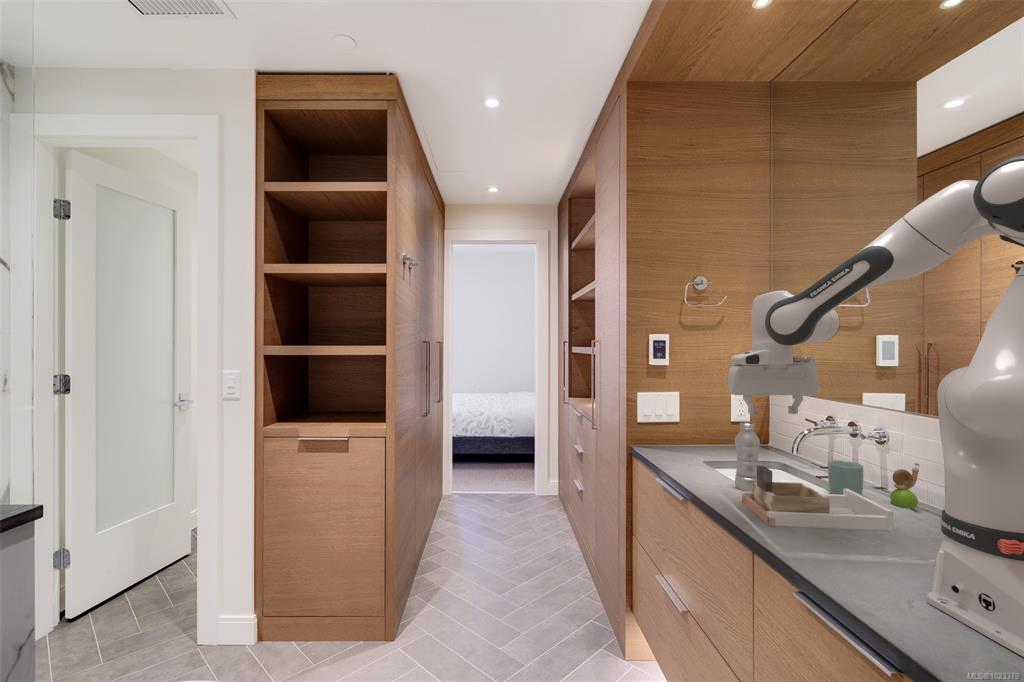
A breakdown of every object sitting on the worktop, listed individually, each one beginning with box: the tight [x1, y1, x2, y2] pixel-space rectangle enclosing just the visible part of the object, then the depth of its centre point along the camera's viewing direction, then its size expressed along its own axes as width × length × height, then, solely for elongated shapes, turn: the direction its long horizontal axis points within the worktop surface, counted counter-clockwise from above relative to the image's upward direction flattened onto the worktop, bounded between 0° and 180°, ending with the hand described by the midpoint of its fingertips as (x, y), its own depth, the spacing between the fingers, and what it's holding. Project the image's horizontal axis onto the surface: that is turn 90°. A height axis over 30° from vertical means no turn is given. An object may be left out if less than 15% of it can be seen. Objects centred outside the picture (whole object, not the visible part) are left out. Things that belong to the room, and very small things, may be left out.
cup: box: [827, 459, 865, 496], centre depth 124 cm, size 8×8×10 cm
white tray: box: [741, 489, 894, 532], centre depth 110 cm, size 16×26×6 cm, turn 84°
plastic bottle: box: [733, 421, 761, 492], centre depth 131 cm, size 6×7×20 cm
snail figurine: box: [889, 462, 920, 511], centre depth 117 cm, size 5×6×12 cm
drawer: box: [753, 465, 830, 514], centre depth 111 cm, size 12×12×11 cm
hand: (772, 413), depth 112 cm, fingers open, 8 cm apart
